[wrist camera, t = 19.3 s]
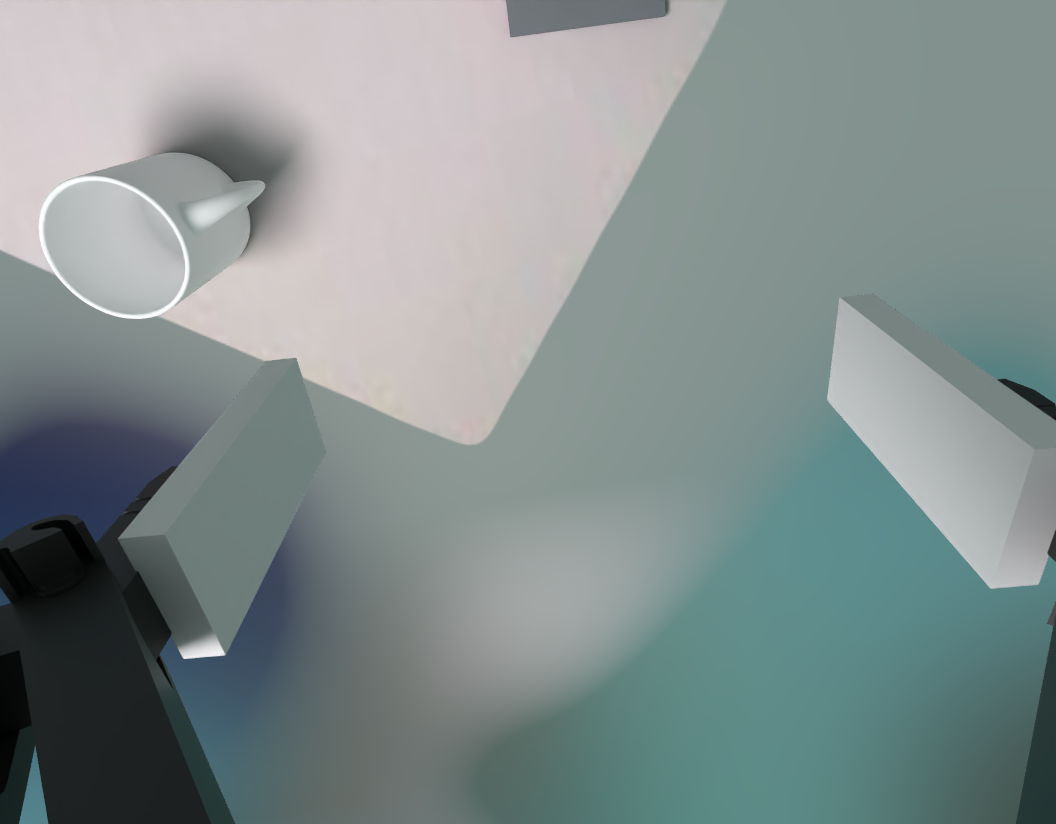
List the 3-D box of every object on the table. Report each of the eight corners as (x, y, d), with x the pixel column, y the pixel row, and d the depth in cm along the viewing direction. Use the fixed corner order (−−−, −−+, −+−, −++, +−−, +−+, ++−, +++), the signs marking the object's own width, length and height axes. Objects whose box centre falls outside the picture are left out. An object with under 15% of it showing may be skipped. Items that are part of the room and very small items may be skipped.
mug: (315, 231, 48) (266, 274, 39) (179, 284, 50) (101, 337, 41) (254, 113, 45) (182, 129, 35) (109, 175, 46) (4, 207, 37)
